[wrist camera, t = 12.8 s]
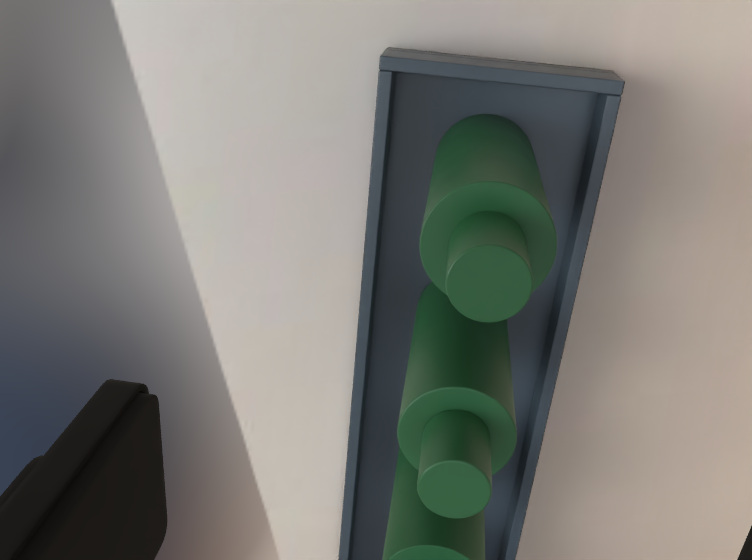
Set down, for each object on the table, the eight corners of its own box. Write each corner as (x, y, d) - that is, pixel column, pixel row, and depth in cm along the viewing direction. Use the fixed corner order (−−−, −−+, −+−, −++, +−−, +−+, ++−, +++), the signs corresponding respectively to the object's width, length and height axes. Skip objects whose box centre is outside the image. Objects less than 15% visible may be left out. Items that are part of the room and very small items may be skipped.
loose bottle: (441, 108, 33) (420, 203, 20) (542, 119, 32) (582, 222, 20) (429, 203, 35) (405, 340, 22) (524, 214, 34) (551, 361, 22)
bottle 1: (422, 266, 36) (394, 427, 24) (513, 277, 36) (532, 447, 24) (412, 344, 38) (383, 529, 26) (498, 356, 38) (509, 549, 25)
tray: (387, 47, 32) (379, 55, 30) (613, 70, 32) (625, 81, 29) (341, 581, 47) (333, 617, 45) (494, 606, 46) (495, 644, 44)
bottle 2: (406, 396, 39) (375, 595, 27) (488, 408, 39) (495, 615, 27) (397, 461, 41) (366, 674, 29) (476, 473, 41) (477, 694, 29)
